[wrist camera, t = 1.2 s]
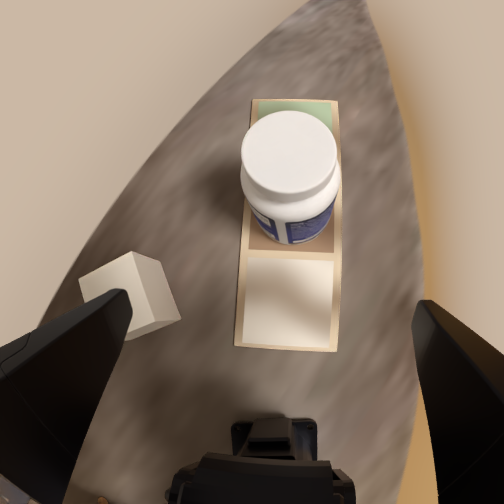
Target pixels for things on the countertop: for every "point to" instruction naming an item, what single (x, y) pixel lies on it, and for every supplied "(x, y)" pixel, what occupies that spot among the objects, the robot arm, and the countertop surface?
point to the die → (135, 291)
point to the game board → (291, 266)
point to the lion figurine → (102, 500)
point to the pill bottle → (290, 175)
